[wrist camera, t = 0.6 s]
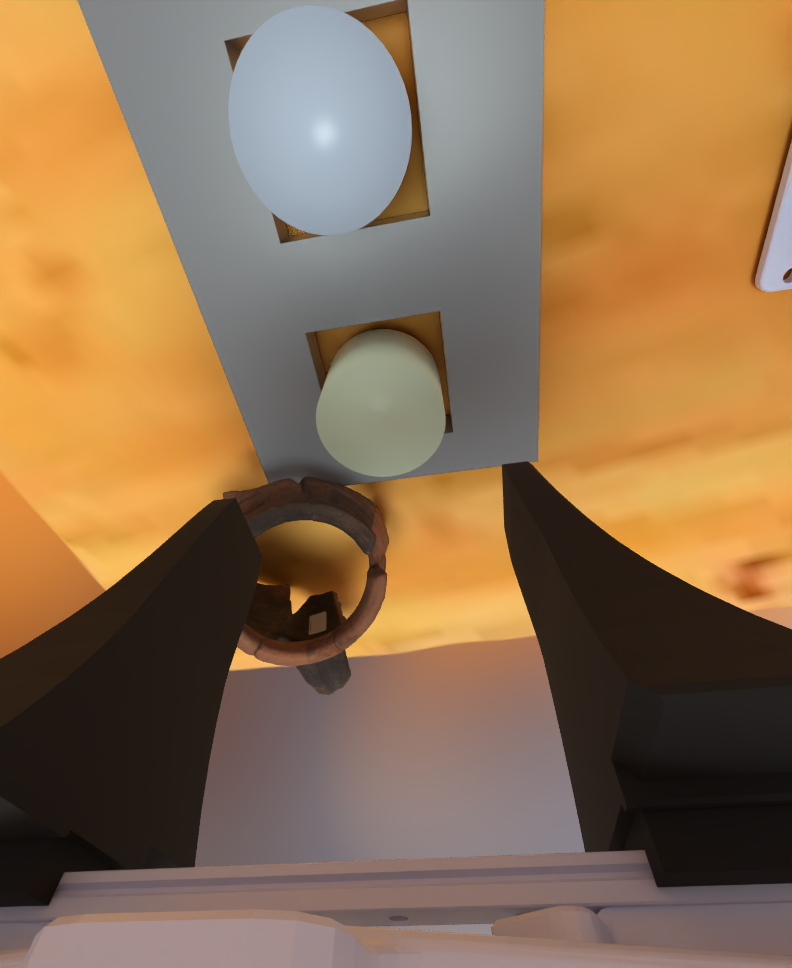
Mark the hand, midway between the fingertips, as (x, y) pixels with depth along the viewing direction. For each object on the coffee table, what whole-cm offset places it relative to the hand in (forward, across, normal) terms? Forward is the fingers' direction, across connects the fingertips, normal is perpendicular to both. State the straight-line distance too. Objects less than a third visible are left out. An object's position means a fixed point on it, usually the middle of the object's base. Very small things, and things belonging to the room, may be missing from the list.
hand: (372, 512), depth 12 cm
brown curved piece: (+10, +6, +9) cm, 14 cm away
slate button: (+8, 0, -8) cm, 11 cm away
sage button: (+8, 0, 0) cm, 8 cm away
